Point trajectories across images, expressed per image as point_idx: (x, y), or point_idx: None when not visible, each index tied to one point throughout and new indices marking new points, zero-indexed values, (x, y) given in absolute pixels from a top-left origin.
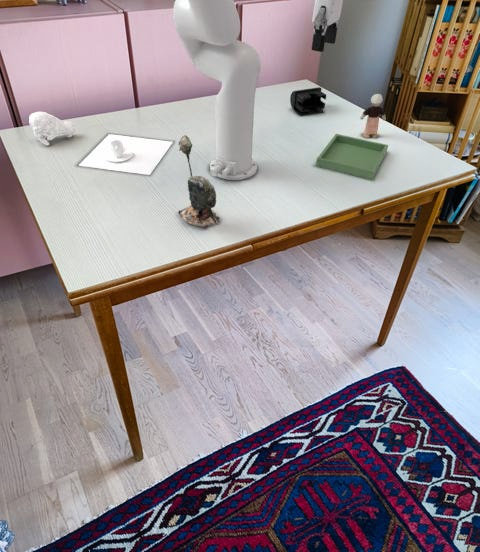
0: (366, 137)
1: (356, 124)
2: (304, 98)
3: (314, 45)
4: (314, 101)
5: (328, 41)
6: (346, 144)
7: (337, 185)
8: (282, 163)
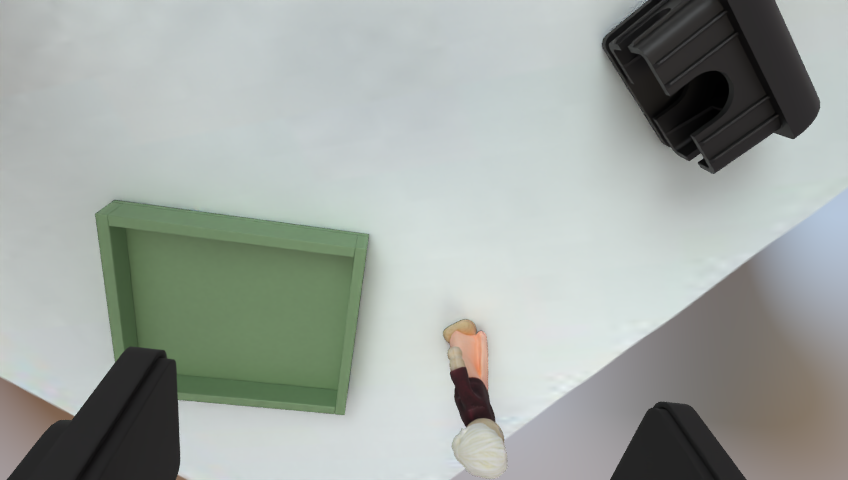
0: (443, 333)
1: (557, 289)
2: (645, 59)
3: (43, 440)
4: (724, 98)
5: (635, 461)
6: (345, 281)
7: (26, 288)
8: (49, 59)
